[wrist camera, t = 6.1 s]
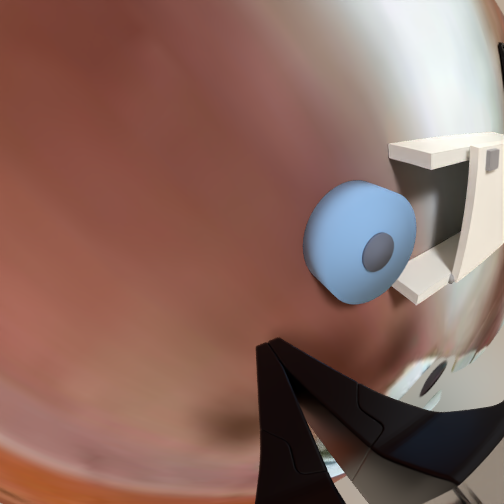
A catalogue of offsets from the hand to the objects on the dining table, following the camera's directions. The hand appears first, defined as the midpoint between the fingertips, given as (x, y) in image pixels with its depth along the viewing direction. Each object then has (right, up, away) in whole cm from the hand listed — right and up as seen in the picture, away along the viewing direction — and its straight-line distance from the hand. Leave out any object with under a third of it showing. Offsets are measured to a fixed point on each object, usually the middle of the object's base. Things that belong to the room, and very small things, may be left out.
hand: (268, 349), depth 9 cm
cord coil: (+5, +4, +6) cm, 9 cm away
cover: (+17, +7, +5) cm, 19 cm away
